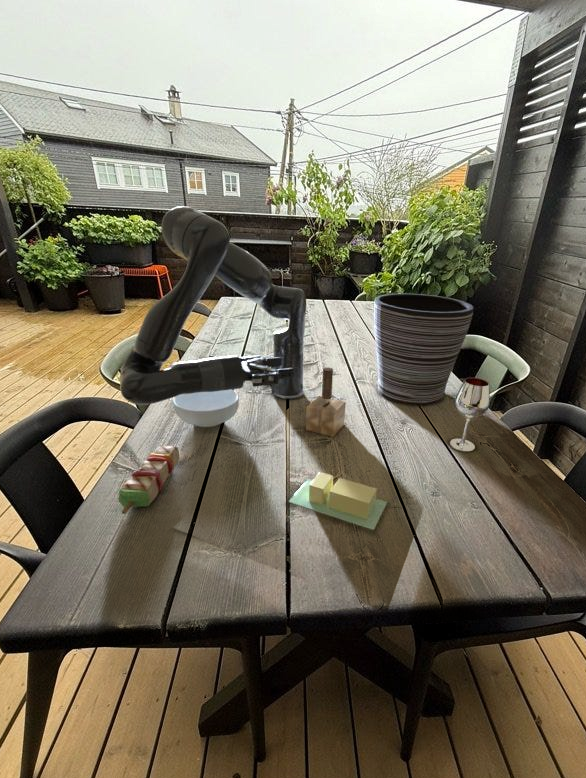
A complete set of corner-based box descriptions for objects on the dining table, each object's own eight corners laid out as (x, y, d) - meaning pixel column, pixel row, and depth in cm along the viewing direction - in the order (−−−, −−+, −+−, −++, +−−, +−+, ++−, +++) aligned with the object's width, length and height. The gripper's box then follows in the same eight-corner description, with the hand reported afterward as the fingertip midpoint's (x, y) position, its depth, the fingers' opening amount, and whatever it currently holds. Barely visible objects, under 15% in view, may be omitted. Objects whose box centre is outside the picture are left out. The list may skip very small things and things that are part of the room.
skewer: (156, 460, 91) (153, 441, 89) (184, 462, 91) (182, 443, 89) (107, 522, 73) (101, 500, 71) (142, 524, 73) (138, 502, 71)
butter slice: (308, 501, 80) (309, 484, 78) (319, 487, 84) (320, 471, 82) (322, 505, 79) (323, 489, 77) (332, 491, 83) (333, 475, 81)
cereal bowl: (252, 416, 114) (251, 393, 110) (212, 441, 100) (210, 416, 97) (205, 403, 120) (202, 381, 116) (162, 425, 106) (158, 401, 103)
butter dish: (288, 504, 80) (288, 485, 78) (308, 481, 87) (308, 462, 85) (373, 533, 74) (375, 512, 72) (387, 504, 81) (389, 485, 79)
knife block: (305, 429, 108) (306, 406, 105) (318, 418, 115) (319, 396, 111) (332, 436, 105) (334, 413, 102) (344, 424, 112) (345, 401, 109)
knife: (319, 428, 109) (321, 369, 102) (323, 424, 111) (325, 366, 104) (327, 430, 108) (330, 371, 101) (331, 426, 111) (334, 368, 103)
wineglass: (478, 441, 107) (494, 379, 99) (478, 456, 100) (494, 390, 92) (447, 435, 109) (460, 373, 101) (445, 449, 102) (458, 384, 94)
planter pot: (450, 418, 119) (471, 317, 105) (354, 399, 127) (362, 304, 114) (458, 384, 144) (476, 300, 131) (378, 370, 153) (387, 290, 139)
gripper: (225, 368, 82) (298, 360, 89) (211, 349, 94) (277, 343, 101) (228, 401, 86) (298, 391, 93) (214, 378, 97) (277, 371, 104)
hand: (287, 366), depth 97 cm, fingers open, 8 cm apart
